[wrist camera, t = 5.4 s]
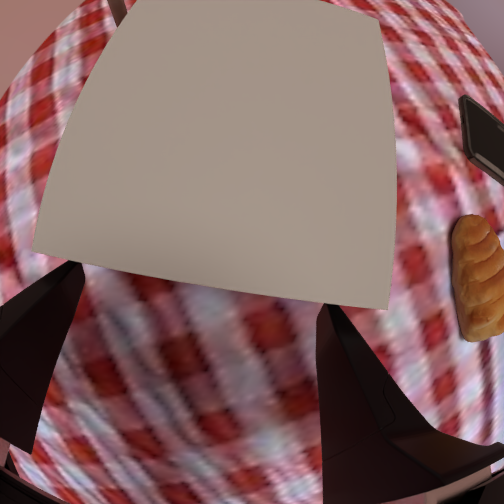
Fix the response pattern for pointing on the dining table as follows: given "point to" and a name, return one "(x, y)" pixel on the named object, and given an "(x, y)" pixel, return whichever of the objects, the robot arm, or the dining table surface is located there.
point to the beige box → (233, 152)
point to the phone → (482, 138)
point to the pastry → (478, 278)
